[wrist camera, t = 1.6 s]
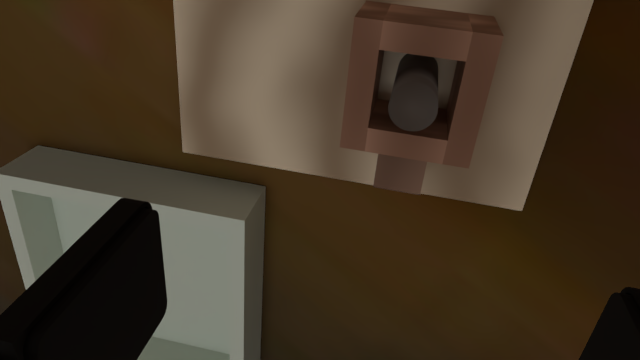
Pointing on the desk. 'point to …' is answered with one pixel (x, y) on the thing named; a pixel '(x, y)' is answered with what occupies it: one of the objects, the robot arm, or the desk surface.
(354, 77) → the tabbed ring
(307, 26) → the stake board
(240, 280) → the tray
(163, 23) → the desk surface
